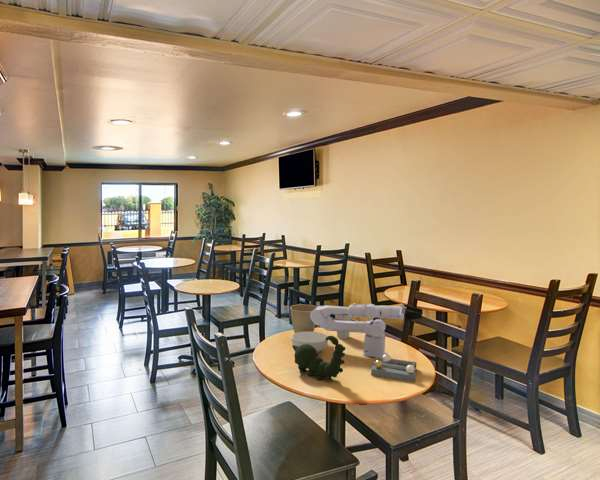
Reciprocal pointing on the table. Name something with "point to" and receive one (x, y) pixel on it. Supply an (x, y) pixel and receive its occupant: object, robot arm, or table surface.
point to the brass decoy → (378, 364)
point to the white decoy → (410, 369)
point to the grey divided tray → (394, 370)
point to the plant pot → (302, 318)
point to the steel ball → (386, 359)
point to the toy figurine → (319, 360)
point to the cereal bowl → (310, 340)
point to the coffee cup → (343, 318)
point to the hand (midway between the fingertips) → (422, 313)
